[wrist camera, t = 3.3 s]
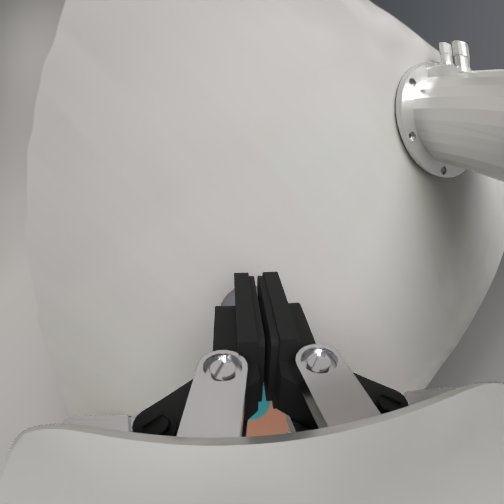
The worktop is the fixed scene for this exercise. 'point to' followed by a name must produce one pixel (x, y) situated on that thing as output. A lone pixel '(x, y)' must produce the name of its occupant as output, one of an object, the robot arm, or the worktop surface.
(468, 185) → the worktop surface
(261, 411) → the object ball
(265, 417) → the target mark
